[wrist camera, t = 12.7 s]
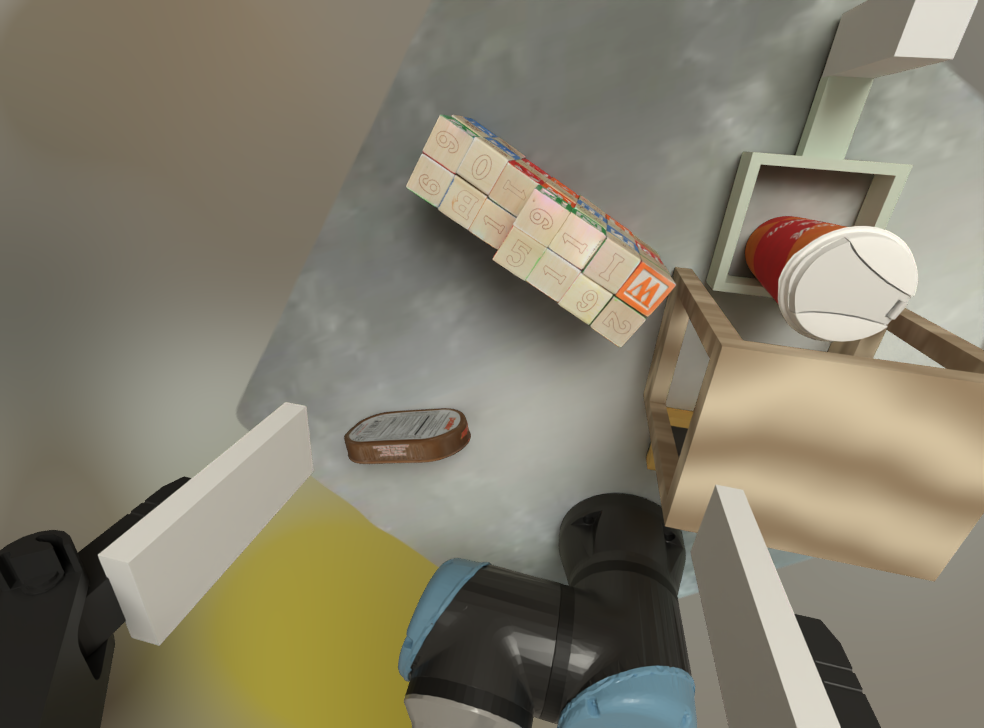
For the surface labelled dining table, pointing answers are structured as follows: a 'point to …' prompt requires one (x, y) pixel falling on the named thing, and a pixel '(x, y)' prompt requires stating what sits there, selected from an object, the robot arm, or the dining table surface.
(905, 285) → the paper cup
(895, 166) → the collar
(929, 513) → the oak tunnel
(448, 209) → the stack of blocks
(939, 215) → the dining table surface
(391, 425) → the tin
